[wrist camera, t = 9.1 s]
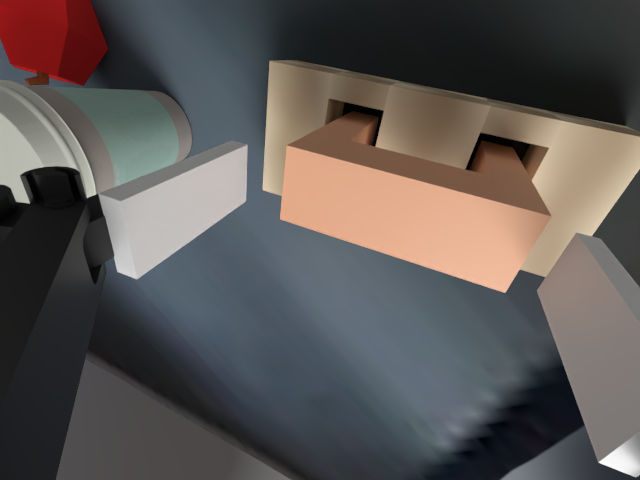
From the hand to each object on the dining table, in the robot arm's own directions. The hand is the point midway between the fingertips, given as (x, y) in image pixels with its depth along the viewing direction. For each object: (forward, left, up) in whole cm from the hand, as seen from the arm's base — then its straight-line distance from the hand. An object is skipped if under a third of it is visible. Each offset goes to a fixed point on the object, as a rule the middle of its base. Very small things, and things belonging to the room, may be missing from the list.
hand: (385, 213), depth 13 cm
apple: (-28, +3, -10) cm, 29 cm away
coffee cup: (-21, -3, -10) cm, 23 cm away
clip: (0, 0, -10) cm, 10 cm away
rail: (0, 0, -10) cm, 10 cm away
